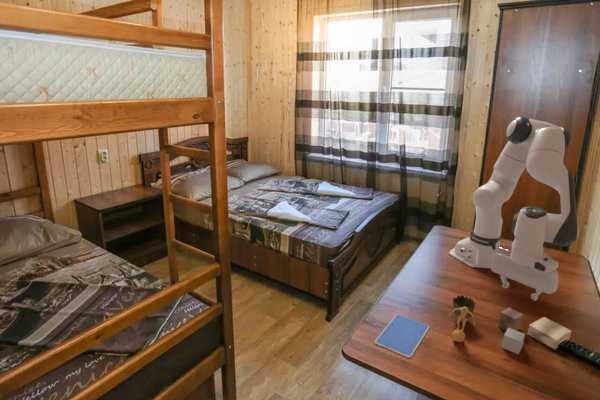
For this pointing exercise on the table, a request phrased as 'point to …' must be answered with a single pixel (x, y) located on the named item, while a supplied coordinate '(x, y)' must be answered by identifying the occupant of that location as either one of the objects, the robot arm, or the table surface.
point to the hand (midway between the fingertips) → (519, 293)
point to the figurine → (459, 334)
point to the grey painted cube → (513, 340)
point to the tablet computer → (402, 335)
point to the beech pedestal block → (548, 332)
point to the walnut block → (510, 319)
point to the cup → (463, 305)
